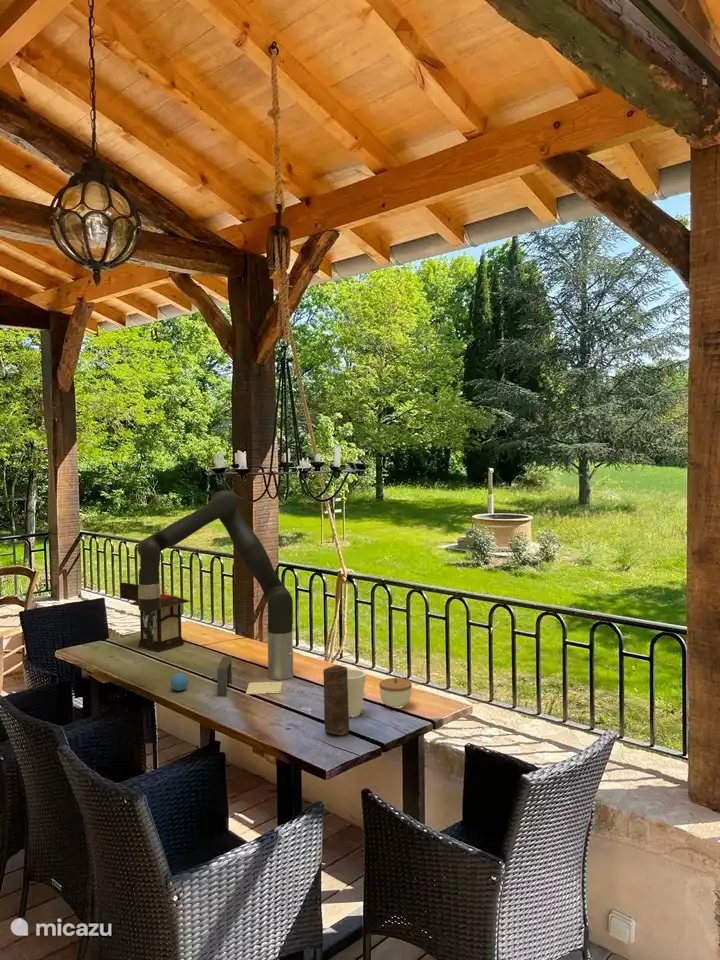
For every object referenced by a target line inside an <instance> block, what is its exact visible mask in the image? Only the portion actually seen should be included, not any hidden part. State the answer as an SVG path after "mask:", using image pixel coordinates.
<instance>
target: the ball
mask: <svg viewBox="0 0 720 960" xmlns="http://www.w3.org/2000/svg"><path fill="white" fill-rule="evenodd" d="M188 684H189V678H188V676H187V675H186V674H184V673H180V672H179V673H175V674H174V675H173V676H172V677H171V679H170V686H171V688H172V689H173V690H175V691H177V692H181V691H183V690H185V689H186V688H187V687H188Z"/></svg>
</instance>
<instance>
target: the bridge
mask: <svg viewBox="0 0 720 960" xmlns="http://www.w3.org/2000/svg"><path fill="white" fill-rule="evenodd" d="M232 657H233V656H232V655H231V656H230V655H224V656H222V658H221V661H220V663H218V666H217V668H216V673H217V674H216V678H217V679H216V680H217V686H216V687H217V697H218V696H219V697H227V696H228V685H232V684H233V668H232V667H233V665H232V662H233V661H232V660H233V659H232ZM229 683H230V684H229Z"/></svg>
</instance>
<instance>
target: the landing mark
mask: <svg viewBox="0 0 720 960" xmlns="http://www.w3.org/2000/svg"><path fill="white" fill-rule="evenodd" d="M271 684H272V685H271ZM281 686H283V682H282V681H271V682H270V681H265V682H263V681H262V682H261V681H259V682H256V681H255V682H248V686H247V688H246V692H245V695H267V694H266V693H267V692H268V693H280V694H281V692H282V687H281ZM276 691H277V692H276ZM279 691H280V692H279Z"/></svg>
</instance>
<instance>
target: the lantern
mask: <svg viewBox="0 0 720 960" xmlns="http://www.w3.org/2000/svg"><path fill="white" fill-rule="evenodd" d="M119 587H120V588H119V589H120V593H119V595H120V599H125V600H129V601H133V602H130V605H132V606H138V588H139V584H138V583H137V584H136V583H131V582H120V583H119ZM160 587H161V589H162V591H164V589H163V585H162V584H161V582H160ZM160 596H161V608H160V609H159V610H155V614H157V616H158V617H157V622H156V629H155V630H154V631H155V632H154V633H153V634H154V644H153V645H147V644H146V634H144V631H143V627H142V622H144V621H143V616H144V611H140V610H139V615H140V616H139V617H140V619H139V620H140V640H139V641H138V646H139V648H140V647H143V648H142V649H144V648H147V649H146V650H148V649H151V650H150V651H153V650H155V651H154V652H157V651H158V653H161V652H163V651H168V650H171V649H174V647H175V648H177V647H182V646H183V645H185V642H184V639H183V637H182V604H185V603H186V604H187V603H190V602H191V600H188V599H185V598H183V597H179V596H175V595H172V594H171V595H170V594H165V593H164V592H162V593H160ZM181 645H182V646H181ZM138 646H137V647H138ZM160 651H161V652H160Z"/></svg>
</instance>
